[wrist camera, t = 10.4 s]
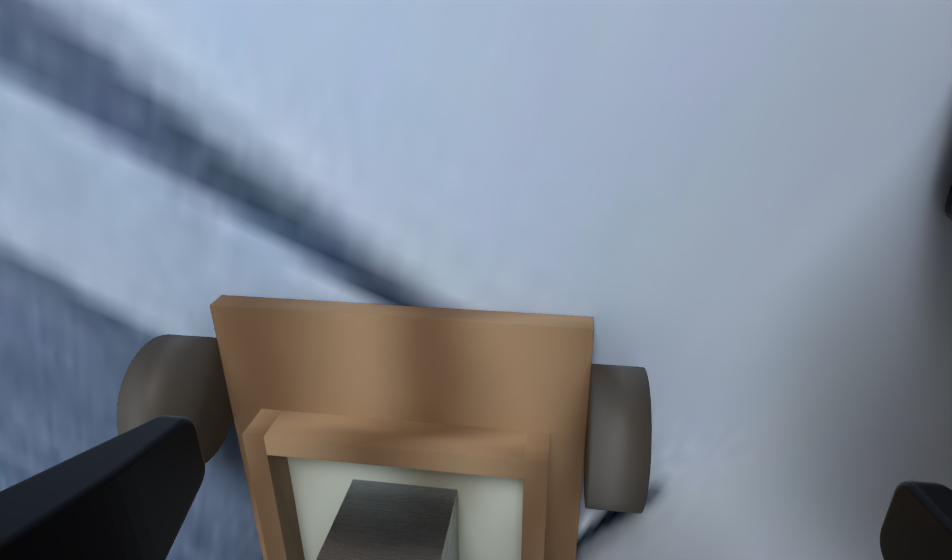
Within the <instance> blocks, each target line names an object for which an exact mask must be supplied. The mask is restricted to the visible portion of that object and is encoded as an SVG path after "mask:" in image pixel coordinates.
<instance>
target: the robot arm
mask: <svg viewBox="0 0 952 560" xmlns="http://www.w3.org/2000/svg"><path fill="white" fill-rule="evenodd" d="M945 212H946V214H947V216H948V217H949V218H950V219H951V220H952V186H951V189H950V193H949V196H948V199H947V202H946V207H945ZM204 474H205V462H204V458H203V454H202V450H201V445H200V441H199V437H198V433H197V429H196V426H195V423H194V422H193V421H192V420H191V419H190V418H187V417H179V416H168V415H164V416H159V417H156V418H154V419H152V420H150V421H148V422H146V423H144V424H142V425H140V426H137V427H135V428H133V429H131V430H129V431H127V432H125V433H123V434H121V435H118V436H116V437H114V438H112V439H110V440H108V441H106V442H104V443H102V444H99V445H97V446H95V447H93V448H91V449H89V450H87V451H85V452H83V453H81V454H78V455H76V456H74V457H72V458H70V459H68V460H66V461H64V462H62V463H59V464H57V465H55V466H53V467H51V468H49V469H47V470H45V471H43V472H41V473H38V474H36V475H34V476H32V477H30V478H28V479H26V480H24V481H22V482H19V483H17V484H15V485H13V486H11V487H9V488H7V489H5V490H3V491H1V492H0V560H165V559H166V557H167V555H168V553H169V551H170V549H171V547H172V545H173V543H174V540H175V538H176V536H177V534H178V532H179V530H180V528H181V526H182V524H183V522H184V520H185V517H186V515H187V513H188V511H189V509H190V507H191V505H192V503H193V501H194V499H195V496H196V494H197V492H198V490H199V488H200V486H201V484H202V481H203V478H204ZM880 546H881V551H882V555H883V558H884V560H952V490H950V489H949V488H947V487H945V486H944V485H941V484H937V483H928V482H917V481H905V482H902V483H900V484H899V485H898V486H897V488H896V490H895V492H894V495H893V498H892V500H891V503H890V506H889V509H888V512H887V514H886V517H885V520H884V523H883V526H882V528H881V533H880Z"/></svg>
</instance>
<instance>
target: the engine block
mask: <svg viewBox="0 0 952 560" xmlns="http://www.w3.org/2000/svg"><path fill="white" fill-rule="evenodd" d="M316 560H459V528H458V492H457V489H447V488H437V487H427V486H417V485H407V484H397V483H387V482H377V481H367V480H357V479H353V480H352V482H351V485H350V487H349V489H348V491H347V493H346V496H345V498H344V500H343V502H342V504H341V506H340V509H339V511H338V513H337V515H336V517H335V519H334V522H333V524H332V526H331V528H330V530H329V533H328V535H327V537H326V539H325V541H324V543H323V546H322V548H321V550H320V552H319V554H318V556H317V559H316Z"/></svg>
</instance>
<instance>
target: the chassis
mask: <svg viewBox="0 0 952 560" xmlns="http://www.w3.org/2000/svg"><path fill="white" fill-rule="evenodd" d="M210 309H211V313H212V318H213V323H214V327H215V332H216V337H217V338H212V337H198V336H183V335H169V334H168V335H161V336H158V337H156V338H154V339H152V340H151V341H149V342H148V343H147V344H146V345H144V346H143V347H142V348H141V350H140V351H139V352H138V353H137V354H136V356H135V357H134V359H133V360H132V362H131V364H130V365H129V367H128V369H127V371H126V374H125V376H124V379H123V382H122V385H121V388H120V392H119V397H118V403H117V428H118V434H119V435H121V434H123V433H125V432H127V431H129V430H131V429H133V428H135V427H137V426H140V425H142V424H144V423H146V422H148V421H150V420H152V419H154V418H156V417H159V416H164V415H168V416H179V417H187V418H190V419H191V420H192V421H193V422H194V423H195V426H196V429H197V433H198V437H199V441H200V445H201V450H202V454H203V458H204V462H205V463H206V462H208V461H209V460H210V459H211V458H212V457H213V456H214V455H215V453H216V452H217V451H218V450H219V448H220V447H221V445H222V443H223V442H224V440H225V438H226V436H227V434H228V431H229V429H230V426H231V423H232V420H233V417H234V422H235V427H236V432H237V436H238V441H239V446H240V451H241V455H242V460H243V465H244V470H245V474H246V479H247V484H248V488H249V493H250V498H251V503H252V507H253V512H254V517H255V522H256V526H257V531H258V536H259V541H260V545H261V550H262V555H263V559H264V560H316V559H317V556H318V554H319V552H320V550H321V548H322V546H323V543H324V541H325V539H326V537H327V535H328V533H329V530H330V528H331V526H332V524H333V522H334V519H335V517H336V515H337V513H338V511H339V509H340V506H341V504H342V502H343V500H344V498H345V496H346V493H347V491H348V489H349V487H350V485H351V482H352V480H353V479H357V480H367V481H377V482H387V483H397V484H407V485H417V486H427V487H437V488H447V489H457V492H458V528H459V560H576V548H577V535H578V523H579V511H580V498H581V486H582V473H583V461H584V499H585V507H586V508H590V509H600V510H610V511H620V512H630V513H642V512H643V509H644V507H645V503H646V498H647V492H648V485H649V476H650V463H651V436H652V424H651V399H650V388H649V381H648V376H647V372H646V370H645V368H644V367H631V366H616V365H602V364H591V361H592V348H593V336H594V319H593V317H581V316H565V315H548V314H531V313H514V312H497V311H480V310H463V309H446V308H430V307H413V306H396V305H379V304H362V303H345V302H328V301H311V300H294V299H278V298H261V297H244V296H227V295H221V296H220V297H219V298H218V299H217V300H216V301H214V302H213V303H212V304H211V305H210ZM584 448H585V449H584Z"/></svg>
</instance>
